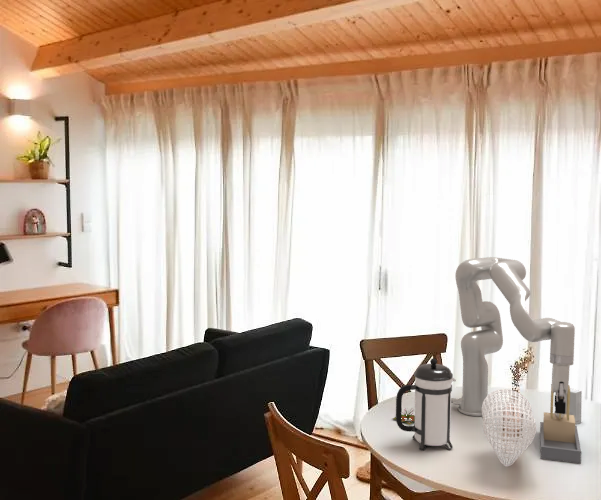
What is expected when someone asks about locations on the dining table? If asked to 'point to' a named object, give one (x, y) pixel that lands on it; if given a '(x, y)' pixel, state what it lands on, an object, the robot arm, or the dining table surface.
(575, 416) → the skincare box
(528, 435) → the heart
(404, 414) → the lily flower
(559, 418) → the tan slotted block
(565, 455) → the shaker tray
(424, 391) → the coffee press
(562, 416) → the ball
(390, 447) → the dining table surface
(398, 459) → the dining table surface
